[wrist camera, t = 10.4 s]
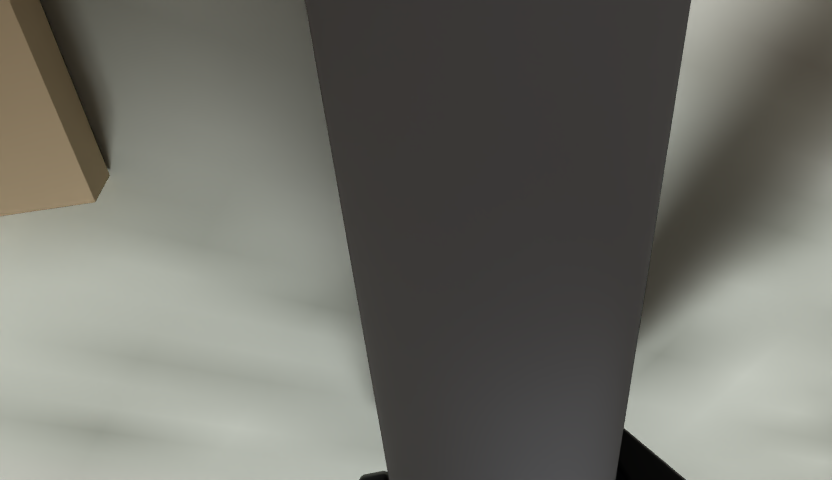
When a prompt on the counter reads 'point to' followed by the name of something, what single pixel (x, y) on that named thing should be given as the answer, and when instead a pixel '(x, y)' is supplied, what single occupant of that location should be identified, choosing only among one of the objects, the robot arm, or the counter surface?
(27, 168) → the mat
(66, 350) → the counter surface
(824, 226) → the counter surface
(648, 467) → the robot arm
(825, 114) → the counter surface
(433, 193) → the grey rounded rod
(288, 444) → the counter surface
